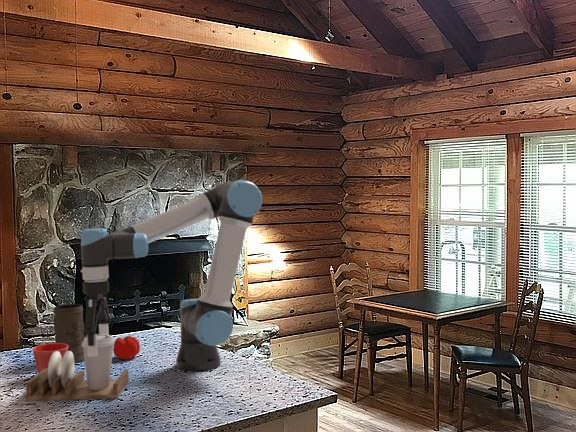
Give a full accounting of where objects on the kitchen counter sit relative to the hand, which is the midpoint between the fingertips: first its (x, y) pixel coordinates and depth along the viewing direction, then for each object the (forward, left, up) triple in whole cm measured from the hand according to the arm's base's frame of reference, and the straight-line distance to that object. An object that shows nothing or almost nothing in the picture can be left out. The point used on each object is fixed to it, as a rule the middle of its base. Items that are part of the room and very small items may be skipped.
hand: (98, 350), depth 189 cm
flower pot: (+20, -17, -13) cm, 29 cm away
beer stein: (+22, -38, -12) cm, 45 cm away
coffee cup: (0, 0, -11) cm, 11 cm away
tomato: (0, -38, -13) cm, 40 cm away
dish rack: (+6, 0, -12) cm, 14 cm away
